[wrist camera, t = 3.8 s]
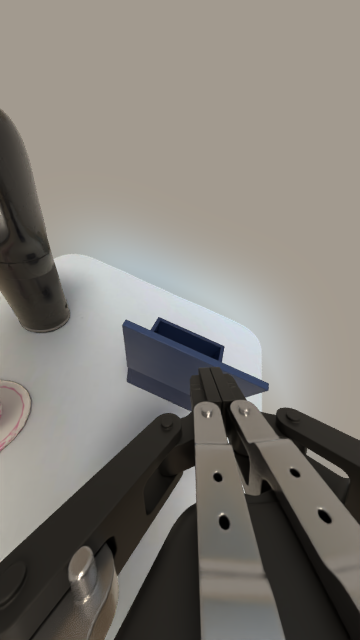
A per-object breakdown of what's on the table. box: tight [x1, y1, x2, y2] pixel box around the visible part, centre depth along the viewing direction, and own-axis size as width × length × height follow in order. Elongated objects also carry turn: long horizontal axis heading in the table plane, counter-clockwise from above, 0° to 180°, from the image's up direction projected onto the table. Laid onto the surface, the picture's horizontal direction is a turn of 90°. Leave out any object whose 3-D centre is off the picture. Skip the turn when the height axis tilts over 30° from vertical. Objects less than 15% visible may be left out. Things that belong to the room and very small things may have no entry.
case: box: [127, 317, 224, 411], centre depth 37 cm, size 14×17×7 cm
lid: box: [122, 320, 269, 397], centre depth 24 cm, size 14×17×1 cm
